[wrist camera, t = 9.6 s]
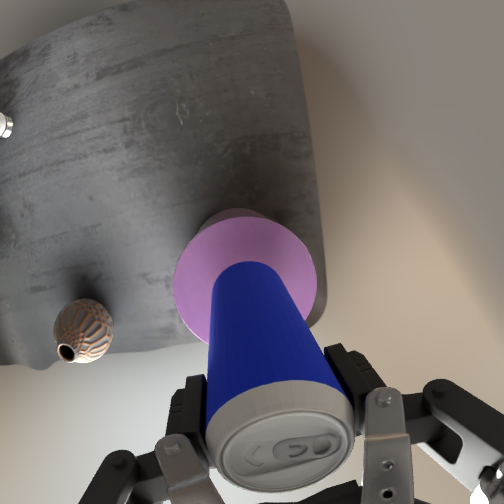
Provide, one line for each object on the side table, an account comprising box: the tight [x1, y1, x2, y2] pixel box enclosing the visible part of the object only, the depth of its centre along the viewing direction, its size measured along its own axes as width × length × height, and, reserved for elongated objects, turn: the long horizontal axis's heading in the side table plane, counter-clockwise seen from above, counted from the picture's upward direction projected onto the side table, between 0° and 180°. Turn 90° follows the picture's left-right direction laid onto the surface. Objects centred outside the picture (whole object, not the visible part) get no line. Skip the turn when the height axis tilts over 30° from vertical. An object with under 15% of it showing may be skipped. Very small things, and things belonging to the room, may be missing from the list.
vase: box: [54, 299, 113, 363], centre depth 31 cm, size 7×7×9 cm
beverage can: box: [205, 261, 355, 494], centre depth 16 cm, size 5×5×15 cm
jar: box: [173, 208, 317, 344], centre depth 30 cm, size 11×11×12 cm
